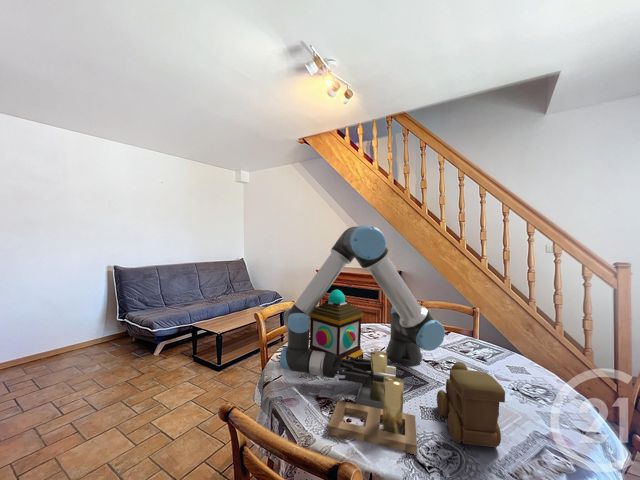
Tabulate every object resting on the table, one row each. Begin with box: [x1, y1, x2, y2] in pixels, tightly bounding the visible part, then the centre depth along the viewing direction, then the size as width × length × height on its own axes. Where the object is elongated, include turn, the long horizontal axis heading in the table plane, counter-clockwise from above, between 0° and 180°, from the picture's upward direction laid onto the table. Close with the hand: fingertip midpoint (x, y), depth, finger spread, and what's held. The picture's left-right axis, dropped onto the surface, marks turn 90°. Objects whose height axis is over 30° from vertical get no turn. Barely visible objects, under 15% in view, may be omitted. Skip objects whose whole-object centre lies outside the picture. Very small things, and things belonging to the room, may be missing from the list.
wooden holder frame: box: [327, 399, 418, 456], centre depth 76 cm, size 22×12×2 cm, turn 74°
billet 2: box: [381, 376, 405, 435], centre depth 74 cm, size 5×5×14 cm
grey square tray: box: [355, 383, 383, 409], centre depth 90 cm, size 12×12×2 cm
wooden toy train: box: [436, 361, 506, 448], centre depth 77 cm, size 20×11×17 cm, turn 173°
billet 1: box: [370, 350, 388, 402], centre depth 90 cm, size 5×5×14 cm
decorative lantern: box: [309, 289, 365, 359], centre depth 117 cm, size 20×20×30 cm
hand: (395, 375), depth 89 cm, fingers closed on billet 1, 5 cm apart
